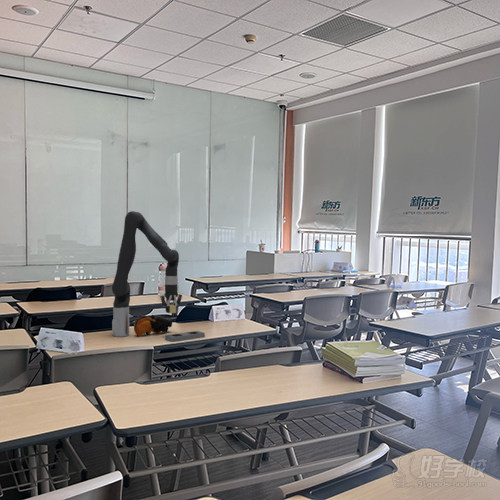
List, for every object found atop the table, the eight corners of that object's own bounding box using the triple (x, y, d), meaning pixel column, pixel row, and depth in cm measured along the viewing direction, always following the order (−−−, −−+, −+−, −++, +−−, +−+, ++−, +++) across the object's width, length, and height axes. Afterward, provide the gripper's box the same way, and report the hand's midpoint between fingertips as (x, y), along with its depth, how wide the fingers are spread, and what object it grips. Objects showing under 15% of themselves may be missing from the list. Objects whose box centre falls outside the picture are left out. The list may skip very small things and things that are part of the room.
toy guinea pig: (166, 345, 302) (175, 321, 305) (134, 335, 290) (143, 311, 292) (161, 342, 309) (169, 319, 312) (128, 333, 296) (137, 309, 299)
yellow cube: (169, 313, 290) (169, 305, 290) (166, 312, 294) (166, 305, 293) (176, 312, 293) (176, 305, 293) (172, 311, 296) (172, 304, 296)
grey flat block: (171, 342, 279) (171, 337, 279) (165, 339, 285) (165, 335, 285) (204, 337, 293) (204, 332, 293) (197, 334, 299) (197, 330, 299)
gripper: (178, 282, 300) (178, 310, 300) (157, 283, 291) (157, 312, 292) (185, 283, 294) (184, 312, 295) (163, 284, 285) (163, 314, 286)
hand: (171, 312), depth 293 cm, fingers closed on yellow cube, 4 cm apart
